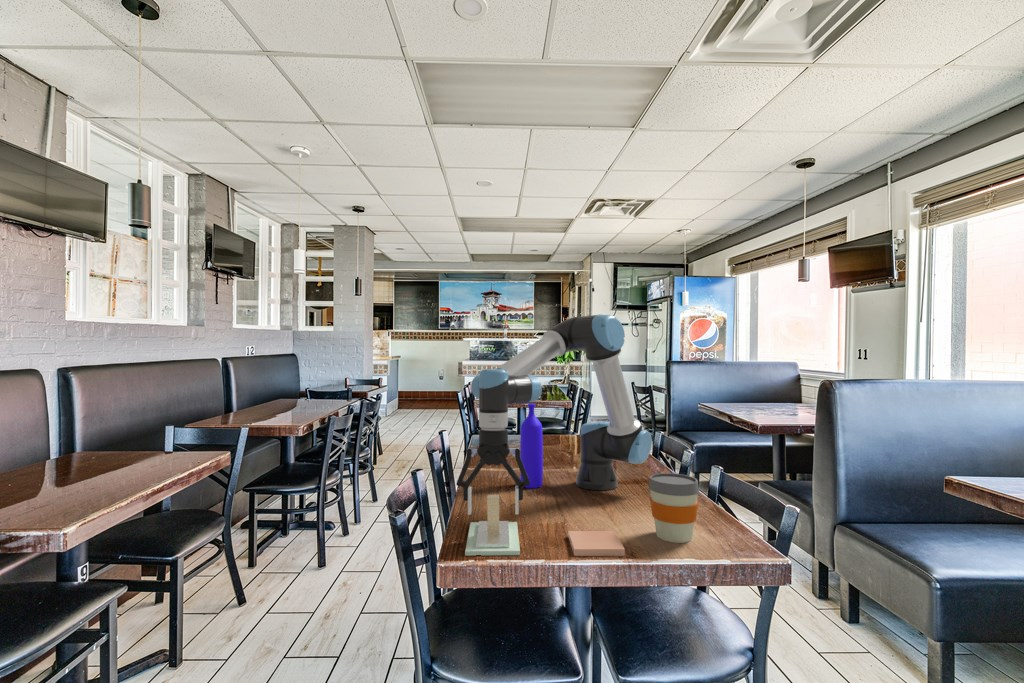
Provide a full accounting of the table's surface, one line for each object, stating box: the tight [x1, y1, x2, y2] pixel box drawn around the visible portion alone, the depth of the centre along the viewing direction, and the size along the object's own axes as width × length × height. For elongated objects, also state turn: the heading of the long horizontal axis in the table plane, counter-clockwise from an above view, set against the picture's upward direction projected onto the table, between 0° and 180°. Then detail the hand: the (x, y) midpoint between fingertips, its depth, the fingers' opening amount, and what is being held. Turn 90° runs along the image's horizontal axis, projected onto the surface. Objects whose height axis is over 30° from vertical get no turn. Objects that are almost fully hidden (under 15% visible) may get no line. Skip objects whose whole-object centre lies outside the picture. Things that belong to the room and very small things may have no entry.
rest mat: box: [464, 521, 521, 557], centre depth 122 cm, size 20×13×1 cm, turn 1°
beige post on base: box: [476, 494, 509, 548], centre depth 122 cm, size 16×8×10 cm, turn 1°
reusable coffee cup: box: [648, 472, 700, 544], centre depth 124 cm, size 13×13×15 cm
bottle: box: [519, 403, 544, 489], centre depth 174 cm, size 8×8×30 cm
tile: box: [567, 530, 626, 557], centre depth 117 cm, size 2×12×12 cm
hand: (493, 513), depth 122 cm, fingers open, 11 cm apart
